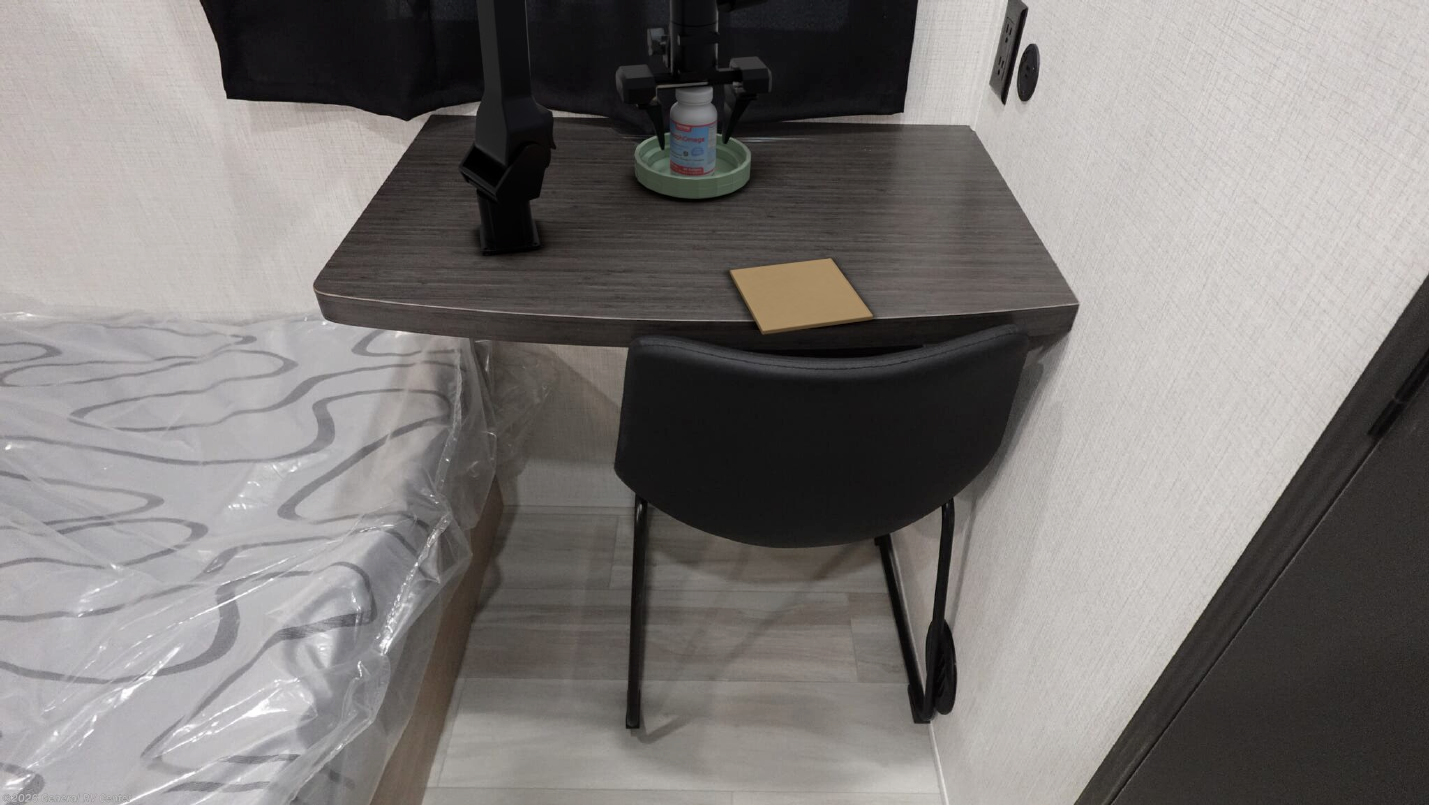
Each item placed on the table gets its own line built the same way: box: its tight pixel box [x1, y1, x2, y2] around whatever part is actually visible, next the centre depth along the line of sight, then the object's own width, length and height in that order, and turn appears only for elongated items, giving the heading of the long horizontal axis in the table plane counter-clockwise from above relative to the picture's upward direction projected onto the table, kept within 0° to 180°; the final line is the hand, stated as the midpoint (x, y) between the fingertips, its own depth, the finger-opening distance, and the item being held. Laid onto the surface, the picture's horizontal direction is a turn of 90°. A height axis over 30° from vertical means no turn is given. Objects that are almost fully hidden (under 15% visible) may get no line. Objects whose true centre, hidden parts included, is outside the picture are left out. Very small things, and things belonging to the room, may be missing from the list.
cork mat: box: [729, 258, 874, 335], centre depth 90 cm, size 12×12×1 cm
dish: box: [633, 132, 752, 200], centre depth 111 cm, size 15×15×3 cm
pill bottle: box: [669, 86, 718, 177], centre depth 108 cm, size 6×6×11 cm
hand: (693, 145), depth 109 cm, fingers closed on pill bottle, 8 cm apart
